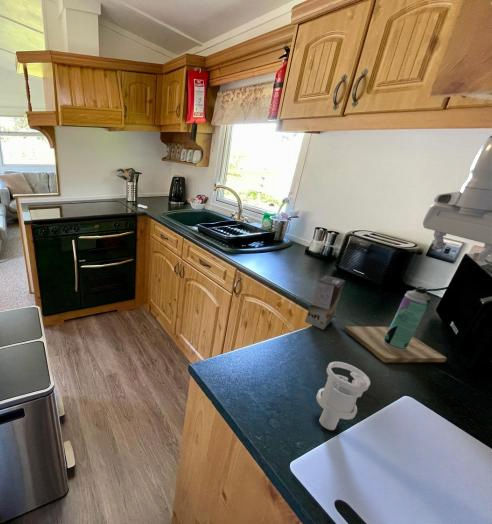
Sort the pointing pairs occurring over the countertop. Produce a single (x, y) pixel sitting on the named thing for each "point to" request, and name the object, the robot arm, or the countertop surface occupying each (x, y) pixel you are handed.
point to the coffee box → (324, 301)
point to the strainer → (340, 395)
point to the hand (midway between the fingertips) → (456, 254)
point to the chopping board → (374, 343)
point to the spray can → (407, 319)
